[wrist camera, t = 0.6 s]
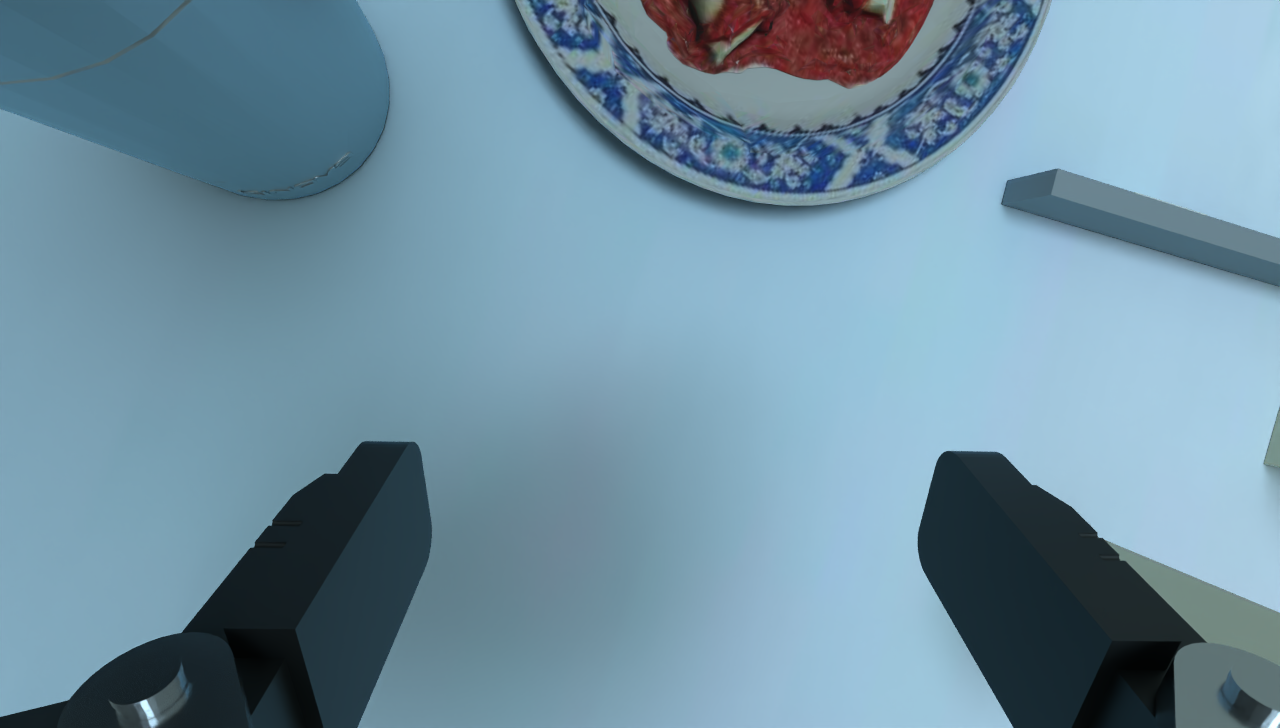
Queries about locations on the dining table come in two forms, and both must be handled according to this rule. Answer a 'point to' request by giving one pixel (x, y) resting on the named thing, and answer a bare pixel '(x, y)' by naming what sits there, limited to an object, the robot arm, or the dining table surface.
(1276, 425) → the faced carton
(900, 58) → the ceramic plate
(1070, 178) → the rail
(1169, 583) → the carton
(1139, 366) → the dining table surface
